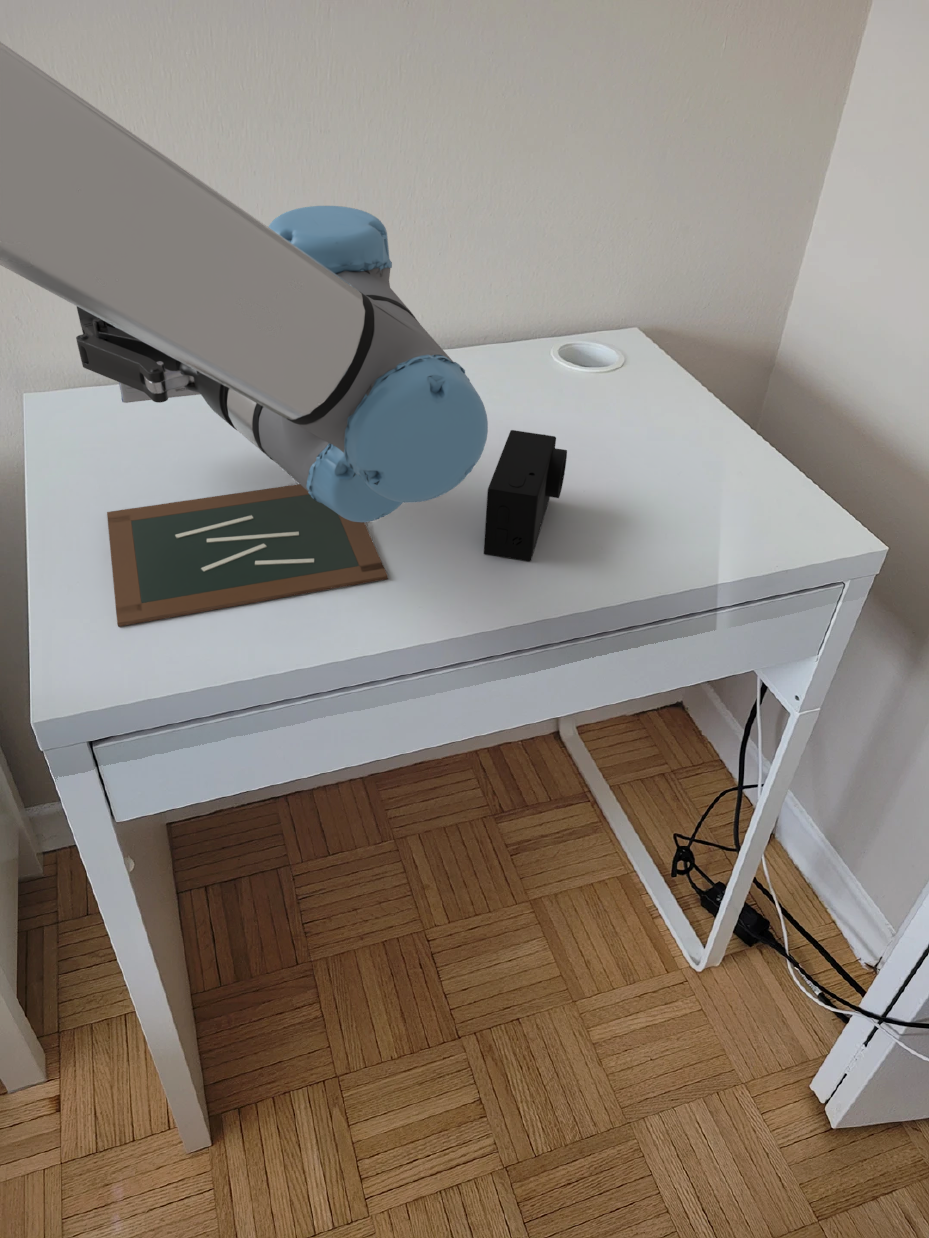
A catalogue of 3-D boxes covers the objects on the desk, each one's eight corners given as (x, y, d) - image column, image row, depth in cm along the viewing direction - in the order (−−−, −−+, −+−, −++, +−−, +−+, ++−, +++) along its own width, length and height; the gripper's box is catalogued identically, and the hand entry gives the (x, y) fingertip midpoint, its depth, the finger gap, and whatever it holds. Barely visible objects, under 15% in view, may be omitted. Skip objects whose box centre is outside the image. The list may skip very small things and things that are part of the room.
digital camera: (543, 565, 83) (551, 498, 78) (483, 555, 84) (487, 488, 79) (561, 501, 91) (569, 437, 86) (505, 492, 92) (510, 428, 87)
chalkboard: (118, 626, 75) (116, 622, 75) (107, 515, 86) (106, 511, 86) (388, 579, 81) (387, 574, 80) (344, 480, 92) (344, 476, 92)
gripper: (133, 481, 69) (24, 368, 82) (391, 397, 81) (261, 309, 93) (112, 387, 64) (0, 282, 77) (390, 312, 76) (253, 231, 89)
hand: (143, 296), depth 85 cm, fingers closed on ink cartridge box, 11 cm apart
